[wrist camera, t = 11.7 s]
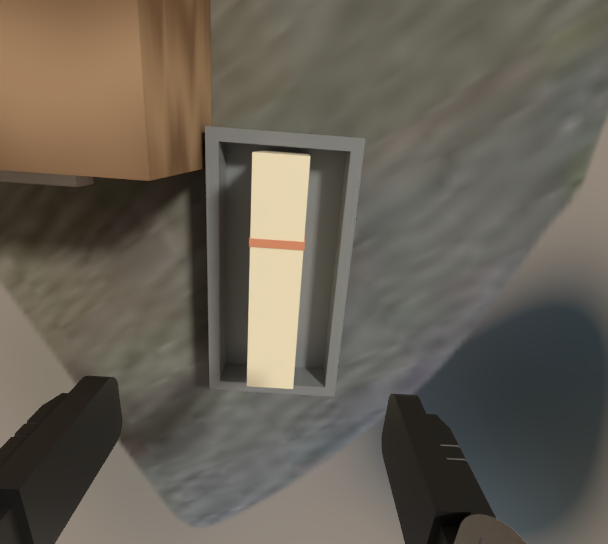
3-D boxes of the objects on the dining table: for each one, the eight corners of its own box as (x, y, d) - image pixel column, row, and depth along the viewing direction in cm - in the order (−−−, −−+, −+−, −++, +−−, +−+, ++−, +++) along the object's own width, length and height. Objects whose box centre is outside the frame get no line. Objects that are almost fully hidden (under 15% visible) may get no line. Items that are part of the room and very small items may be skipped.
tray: (216, 128, 21) (205, 126, 19) (358, 139, 21) (365, 138, 19) (218, 366, 27) (209, 389, 24) (331, 372, 27) (334, 396, 24)
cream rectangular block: (264, 150, 21) (250, 151, 15) (309, 153, 21) (311, 156, 15) (258, 331, 25) (245, 386, 19) (295, 334, 25) (293, 389, 19)
